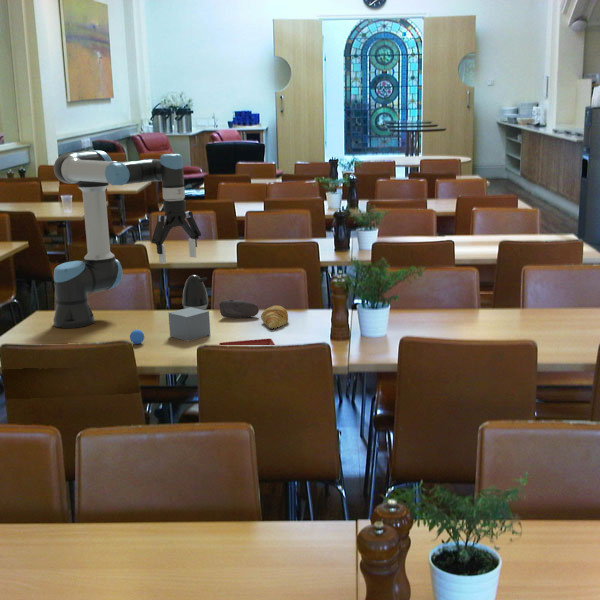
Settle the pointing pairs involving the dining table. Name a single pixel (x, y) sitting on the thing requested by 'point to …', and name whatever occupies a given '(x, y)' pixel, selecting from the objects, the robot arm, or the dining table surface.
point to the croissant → (275, 316)
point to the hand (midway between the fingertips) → (178, 260)
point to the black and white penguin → (195, 293)
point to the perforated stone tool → (238, 309)
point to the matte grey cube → (189, 323)
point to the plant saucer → (250, 342)
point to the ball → (137, 336)
